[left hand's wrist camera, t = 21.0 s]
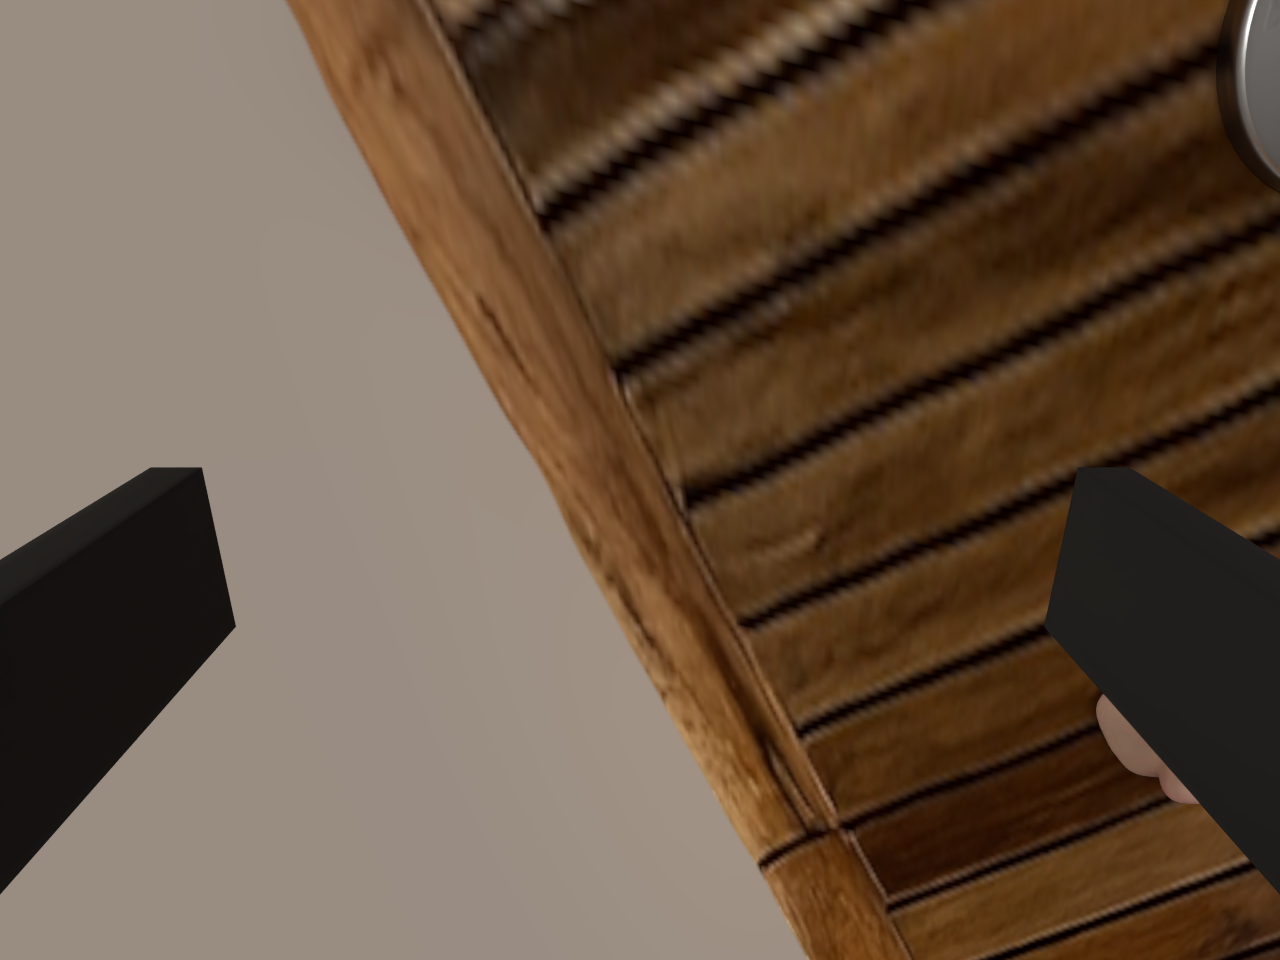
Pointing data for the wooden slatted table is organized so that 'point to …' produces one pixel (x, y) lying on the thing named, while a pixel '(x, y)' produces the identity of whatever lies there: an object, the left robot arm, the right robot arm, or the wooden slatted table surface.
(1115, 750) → the anatomical model
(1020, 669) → the wooden slatted table surface
